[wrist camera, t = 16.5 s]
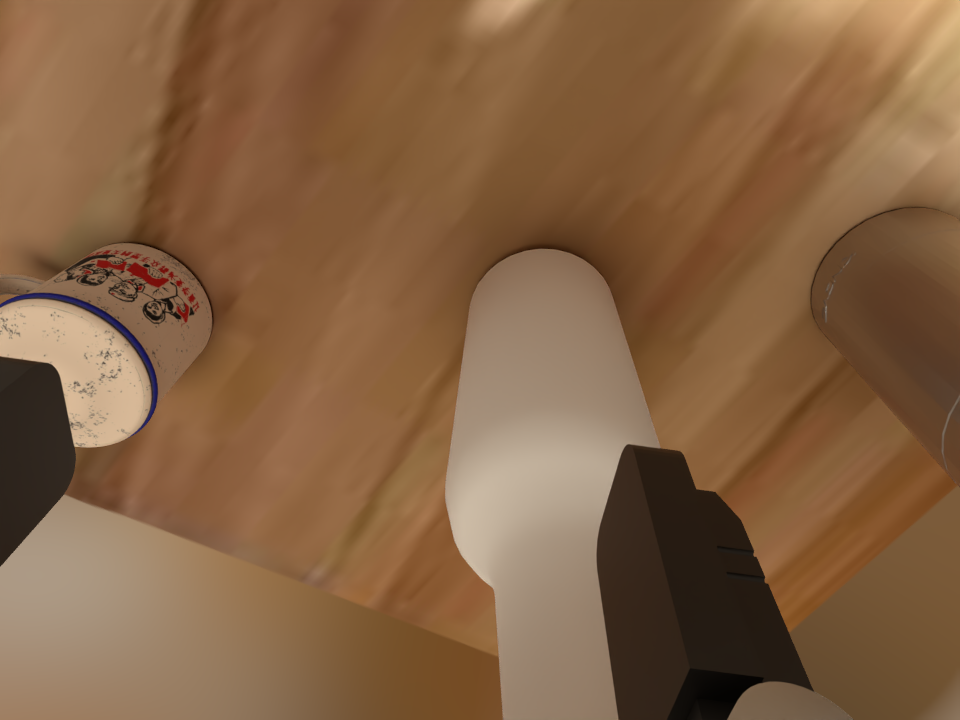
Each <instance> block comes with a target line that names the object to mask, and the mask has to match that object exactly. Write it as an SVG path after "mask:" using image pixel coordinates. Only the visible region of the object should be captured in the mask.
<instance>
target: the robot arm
mask: <svg viewBox="0 0 960 720" xmlns="http://www.w3.org/2000/svg"><path fill="white" fill-rule="evenodd" d="M811 305H812V310H813V315H814V318H815V320H816V322H817V324H818V326H819V328H820V330H821V331H822V332H823V333H824V334H825V335H826V337H827V338H828V339H829V340H830V341H831V342H832V343H833V345H834V346H835V347H836V348H837V349H838V350H839V351H840V353H841V354H842V355H843V356H844V357H845V358H846V359H847V361H848V362H849V363H850V364H851V366H852V367H853V368H854V369H855V370H856V371H857V372H858V374H859V375H860V376H861V377H862V378H863V379H864V380H865V381H866V383H867V384H868V385H869V386H870V387H871V388H872V389H873V390H874V392H875V393H876V394H877V395H878V396H879V397H880V398H881V399H882V401H883V402H884V403H885V404H886V405H887V406H888V407H889V409H890V410H891V411H892V412H893V413H894V414H895V415H896V416H897V418H898V419H899V420H900V421H901V422H902V423H903V424H904V425H905V427H906V428H907V429H908V430H909V431H910V432H911V433H912V434H913V436H914V437H915V438H916V439H917V440H918V441H919V442H920V443H921V445H922V446H923V447H924V448H925V449H926V450H927V451H928V452H929V454H930V455H931V456H932V457H933V458H934V459H935V460H936V461H937V463H938V464H939V465H940V466H941V467H942V468H943V469H944V470H945V472H946V473H947V474H948V475H949V476H950V477H951V478H952V479H953V481H954V482H955V483H956V484H957V485H958V486H959V487H960V220H959V219H957V218H955V217H953V216H951V215H949V214H946V213H944V212H942V211H939V210H934V209H928V208H922V207H920V208H903V209H898V210H894V211H890V212H886V213H883V214H881V215H878V216H876V217H874V218H871V219H869V220H867V221H865V222H864V223H862V224H860V225H859V226H857V227H856V228H854V229H853V230H851V231H850V232H849V233H847V234H846V235H845V236H844V237H843V238H842V239H841V240H840V241H839V242H837V243H836V244H835V246H834V247H833V248H832V249H831V251H830V252H829V253H828V255H827V256H826V257H825V258H824V260H823V262H822V264H821V266H820V268H819V270H818V272H817V274H816V277H815V280H814V284H813V287H812V299H811ZM75 461H76V454H75V448H74V443H73V438H72V433H71V428H70V423H69V418H68V413H67V408H66V403H65V398H64V393H63V388H62V383H61V378H60V375H59V373H58V371H57V369H56V368H55V367H54V366H53V365H52V364H49V363H45V362H38V361H31V360H23V359H16V358H9V357H2V356H0V566H1V565H2V564H3V563H4V562H5V561H6V560H7V558H8V557H9V556H10V555H11V554H12V553H13V552H14V551H15V549H16V548H17V547H18V546H19V545H20V544H21V543H22V541H23V540H24V539H25V538H26V537H27V536H28V535H29V533H30V532H31V531H32V530H33V529H34V528H35V527H36V526H37V524H38V523H39V522H40V521H41V520H42V519H43V518H44V517H45V515H46V514H47V513H48V512H49V511H50V510H51V509H52V507H53V506H54V505H55V504H56V503H57V502H58V500H60V498H61V497H62V496H63V495H64V493H65V492H66V490H67V488H68V486H69V484H70V482H71V479H72V477H73V473H74V469H75ZM753 553H754V550H753V547H752V545H751V543H750V540H749V538H748V536H747V533H746V531H745V529H744V526H743V524H742V522H741V520H740V519H739V517H738V516H737V515H736V514H735V513H734V512H733V511H732V510H731V509H730V508H729V507H728V506H727V504H726V503H725V502H724V501H723V500H722V499H721V498H720V497H719V496H718V495H717V494H716V492H711V491H704V490H697V489H696V487H695V485H694V482H693V479H692V476H691V474H690V471H689V468H688V465H687V463H686V460H685V457H684V455H683V454H682V452H680V451H675V450H668V449H661V448H653V447H646V446H639V445H631V444H628V445H626V446H625V447H624V449H623V451H622V453H621V456H620V459H619V463H618V466H617V469H616V473H615V476H614V480H613V483H612V486H611V490H610V493H609V496H608V500H607V503H606V506H605V510H604V513H603V516H602V520H601V523H600V527H599V532H598V539H597V552H596V562H597V573H598V580H599V587H600V594H601V601H602V608H603V615H604V622H605V629H606V636H607V643H608V650H609V657H610V664H611V671H612V678H613V685H614V692H615V699H616V706H617V713H618V720H853V719H852V718H851V717H850V716H849V715H848V714H847V713H845V712H844V711H843V710H842V709H841V708H839V707H838V706H837V705H835V704H834V703H832V702H831V701H830V700H828V699H826V698H825V697H822V696H821V695H819V694H817V693H815V692H814V690H813V688H812V686H811V684H810V682H809V679H808V677H807V675H806V672H805V670H804V668H803V666H802V663H801V660H800V658H799V656H798V654H797V651H796V649H795V646H794V644H793V642H792V640H791V637H790V635H789V632H788V630H787V627H786V625H785V623H784V620H783V618H782V616H781V613H780V611H779V609H778V606H777V604H776V602H775V599H774V597H773V595H772V592H771V590H770V587H769V585H768V584H766V583H765V582H764V579H765V576H764V573H763V571H762V569H761V566H760V564H759V562H758V559H757V557H754V556H753Z"/></svg>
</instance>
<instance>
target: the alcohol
mask: <svg viewBox="0 0 960 720" xmlns="http://www.w3.org/2000/svg"><path fill="white" fill-rule="evenodd" d="M628 444H631V445H639V446H646V447H653V448H660V445H659V442H658V439H657V435H656V432H655V429H654V426H653V423H652V420H651V416H650V413H649V410H648V407H647V404H646V401H645V398H644V394H643V391H642V388H641V385H640V382H639V379H638V376H637V372H636V369H635V366H634V363H633V360H632V357H631V353H630V350H629V347H628V344H627V341H626V338H625V335H624V331H623V328H622V325H621V322H620V319H619V316H618V312H617V309H616V306H615V303H614V300H613V297H612V294H611V290H610V288H609V287H608V285H607V283H606V281H605V279H604V278H603V277H602V276H601V274H600V273H599V272H598V271H597V270H596V269H595V268H594V267H593V266H592V265H590V264H589V263H588V262H586V261H585V260H584V259H582V258H579V257H577V256H575V255H573V254H571V253H568V252H564V251H560V250H555V249H534V250H527V251H523V252H520V253H517V254H514V255H511V256H509V257H507V258H506V259H504V260H502V261H500V262H499V263H497V264H496V265H495V266H494V267H493V268H491V269H490V270H489V271H488V272H487V273H486V274H485V276H484V277H483V278H482V279H481V281H480V282H479V283H478V285H477V287H476V289H475V291H474V293H473V296H472V300H471V304H470V308H469V315H468V322H467V330H466V337H465V344H464V352H463V359H462V366H461V373H460V381H459V388H458V395H457V403H456V410H455V417H454V425H453V432H452V439H451V447H450V454H449V461H448V469H447V476H446V486H445V501H446V505H447V510H448V514H449V519H450V523H451V528H452V532H453V536H454V540H455V543H456V545H457V547H458V549H459V551H460V553H461V555H462V557H463V558H464V559H465V560H466V562H467V563H468V564H469V565H470V566H471V568H472V569H473V570H474V571H475V572H476V573H477V574H478V576H479V577H480V578H481V579H482V580H484V581H485V582H486V583H487V584H489V585H490V586H491V587H492V588H493V590H494V592H495V605H496V620H497V635H498V650H499V664H500V679H501V695H502V710H503V720H618V713H617V706H616V699H615V692H614V685H613V678H612V671H611V664H610V657H609V650H608V643H607V636H606V629H605V622H604V615H603V608H602V601H601V594H600V587H599V580H598V573H597V562H596V552H597V539H598V532H599V527H600V523H601V520H602V516H603V513H604V510H605V506H606V503H607V500H608V496H609V493H610V490H611V486H612V483H613V480H614V476H615V473H616V469H617V466H618V463H619V459H620V456H621V453H622V451H623V449H624V447H625V446H626V445H628Z"/></svg>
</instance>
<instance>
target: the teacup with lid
mask: <svg viewBox="0 0 960 720" xmlns="http://www.w3.org/2000/svg"><path fill="white" fill-rule="evenodd" d="M4 294H14V295H20V296H16V297H14V298H11V299H9V300H7V301H5V302H3V303H2V304H0V356H2V357H9V358H16V359H23V360H31V361H38V362H45V363H49V364H52V365H53V366H54V367H55V368H56V369H57V371H58V373H59V375H60V378H61V383H62V388H63V393H64V398H65V403H66V408H67V413H68V418H69V423H70V428H71V433H72V438H73V443H74V446H76V447H100V446H106V445H111V444H114V443H117V442H120V441H122V440H124V439H127V438H129V437H131V436H132V435H134V434H136V433H137V432H138V431H140V430H141V429H142V428H143V427H144V426H145V425H146V424H147V423H148V421H149V420H150V418H151V417H152V415H153V413H154V410H155V408H156V405H157V404H158V403H159V401H160V400H161V399H162V398H163V397H164V395H165V394H166V393H167V392H168V391H169V390H170V388H171V387H172V386H173V385H174V384H175V383H176V381H177V380H178V379H179V378H180V377H181V375H182V374H183V373H184V372H185V371H186V370H187V368H188V367H189V366H190V365H191V364H192V363H193V361H194V360H195V359H196V358H197V357H198V355H199V354H200V353H201V352H202V351H203V349H204V348H205V346H206V344H207V343H208V340H209V338H210V335H211V330H212V312H211V307H210V304H209V301H208V298H207V296H206V294H205V292H204V290H203V288H202V286H201V285H200V283H199V282H198V281H197V279H196V278H195V277H194V276H193V274H192V273H191V272H190V271H189V270H188V269H187V268H186V267H185V266H183V265H182V264H181V263H180V262H178V261H177V260H176V259H174V258H173V257H171V256H169V255H168V254H166V253H164V252H162V251H160V250H157V249H155V248H152V247H148V246H145V245H140V244H133V243H117V244H111V245H108V246H104V247H102V248H99V249H97V250H95V251H94V252H92V253H90V254H89V255H87V256H86V257H84V258H82V259H81V260H79V261H78V262H76V263H75V264H73V265H71V266H70V267H68V268H67V269H65V270H64V271H62V272H60V273H59V274H57V275H56V276H54V277H53V278H51V279H49V280H48V281H43V280H41V279H37V278H34V277H30V276H25V275H18V274H0V295H4Z"/></svg>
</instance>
